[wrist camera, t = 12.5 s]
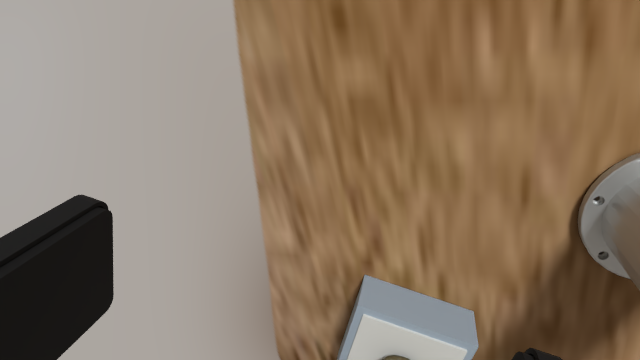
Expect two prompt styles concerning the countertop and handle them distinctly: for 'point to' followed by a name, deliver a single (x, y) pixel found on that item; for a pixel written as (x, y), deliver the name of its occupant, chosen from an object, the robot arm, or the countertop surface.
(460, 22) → the countertop surface
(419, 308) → the base block
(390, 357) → the fennel bulb
